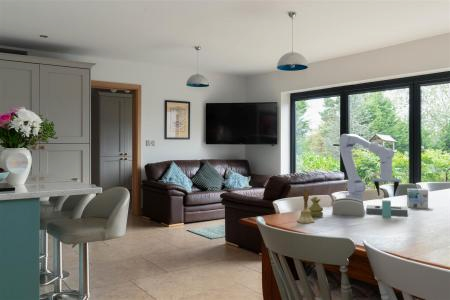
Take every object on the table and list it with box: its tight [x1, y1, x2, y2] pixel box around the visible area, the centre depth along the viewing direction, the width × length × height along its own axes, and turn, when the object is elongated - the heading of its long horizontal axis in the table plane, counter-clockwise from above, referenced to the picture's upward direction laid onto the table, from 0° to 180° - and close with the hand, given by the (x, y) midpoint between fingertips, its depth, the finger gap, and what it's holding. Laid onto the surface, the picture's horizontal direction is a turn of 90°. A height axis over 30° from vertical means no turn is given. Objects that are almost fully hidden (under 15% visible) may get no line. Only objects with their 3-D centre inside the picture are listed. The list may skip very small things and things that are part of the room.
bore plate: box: [365, 204, 409, 217], centre depth 205 cm, size 20×12×3 cm, turn 67°
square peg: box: [381, 200, 392, 218], centre depth 195 cm, size 4×4×8 cm
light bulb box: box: [406, 187, 429, 209], centre depth 225 cm, size 11×7×11 cm, turn 73°
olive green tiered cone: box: [308, 196, 324, 218], centre depth 197 cm, size 7×7×10 cm
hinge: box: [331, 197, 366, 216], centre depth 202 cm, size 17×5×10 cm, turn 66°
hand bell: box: [296, 188, 315, 224], centre depth 183 cm, size 8×8×16 cm
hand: (386, 195), depth 204 cm, fingers open, 7 cm apart
